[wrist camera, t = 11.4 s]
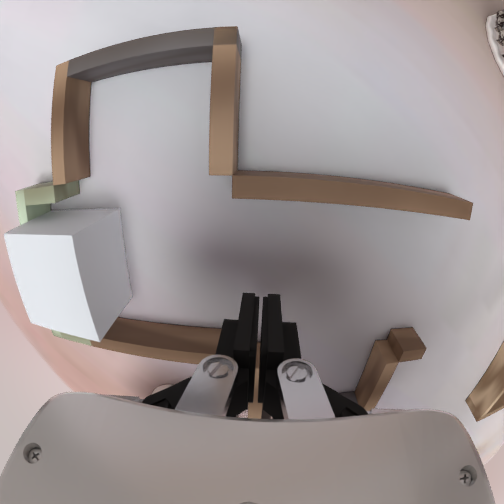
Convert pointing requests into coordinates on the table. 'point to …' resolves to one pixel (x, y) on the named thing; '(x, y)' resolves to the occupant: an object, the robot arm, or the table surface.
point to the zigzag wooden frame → (220, 163)
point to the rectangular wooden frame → (489, 389)
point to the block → (72, 270)
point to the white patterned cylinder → (496, 37)
